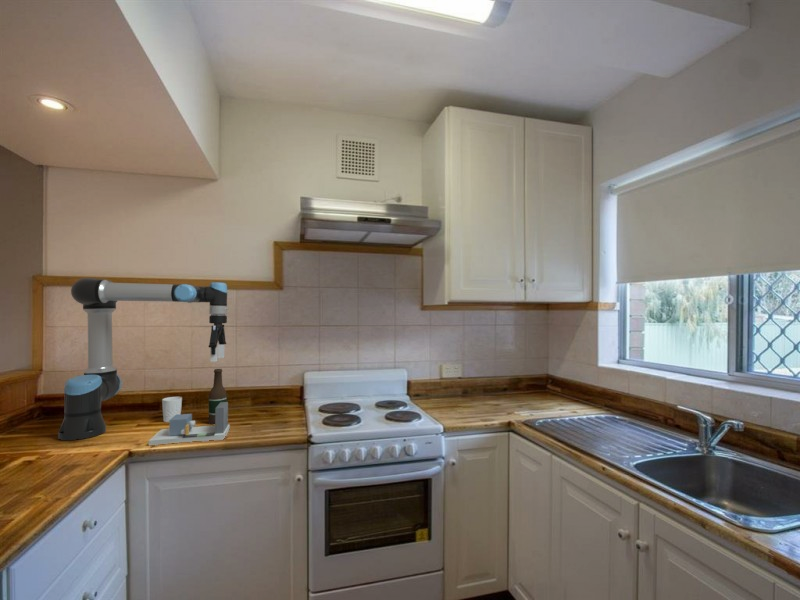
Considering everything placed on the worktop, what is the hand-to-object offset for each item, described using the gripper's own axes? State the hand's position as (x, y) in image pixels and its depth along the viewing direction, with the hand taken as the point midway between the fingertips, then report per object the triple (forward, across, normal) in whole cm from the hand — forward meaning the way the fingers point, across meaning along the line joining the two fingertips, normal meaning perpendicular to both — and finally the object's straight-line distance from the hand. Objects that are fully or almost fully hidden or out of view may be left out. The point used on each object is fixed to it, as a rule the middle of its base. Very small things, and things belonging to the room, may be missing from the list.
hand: (217, 359), depth 182 cm
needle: (+24, -33, +3) cm, 41 cm away
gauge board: (+27, -27, +3) cm, 39 cm away
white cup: (+28, 0, +19) cm, 34 cm away
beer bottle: (+28, -8, -2) cm, 29 cm away
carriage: (+25, -29, +6) cm, 39 cm away
